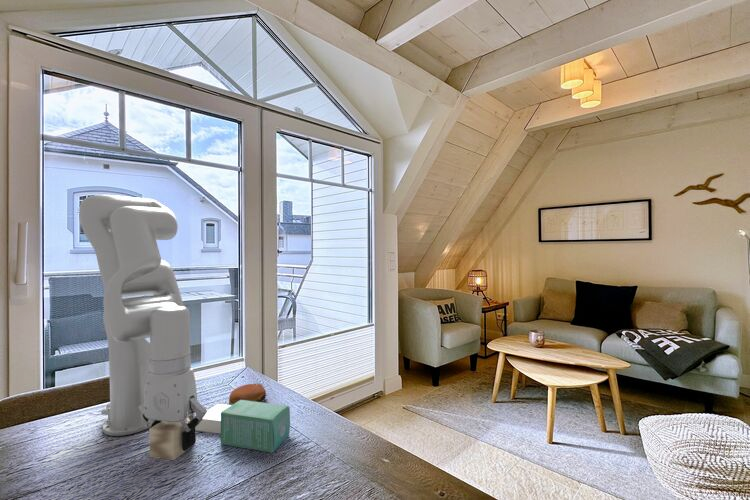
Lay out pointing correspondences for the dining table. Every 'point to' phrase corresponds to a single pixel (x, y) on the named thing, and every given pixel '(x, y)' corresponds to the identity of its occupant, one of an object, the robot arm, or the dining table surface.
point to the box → (255, 425)
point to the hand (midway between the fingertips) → (172, 444)
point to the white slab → (212, 419)
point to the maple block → (166, 440)
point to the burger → (248, 393)
